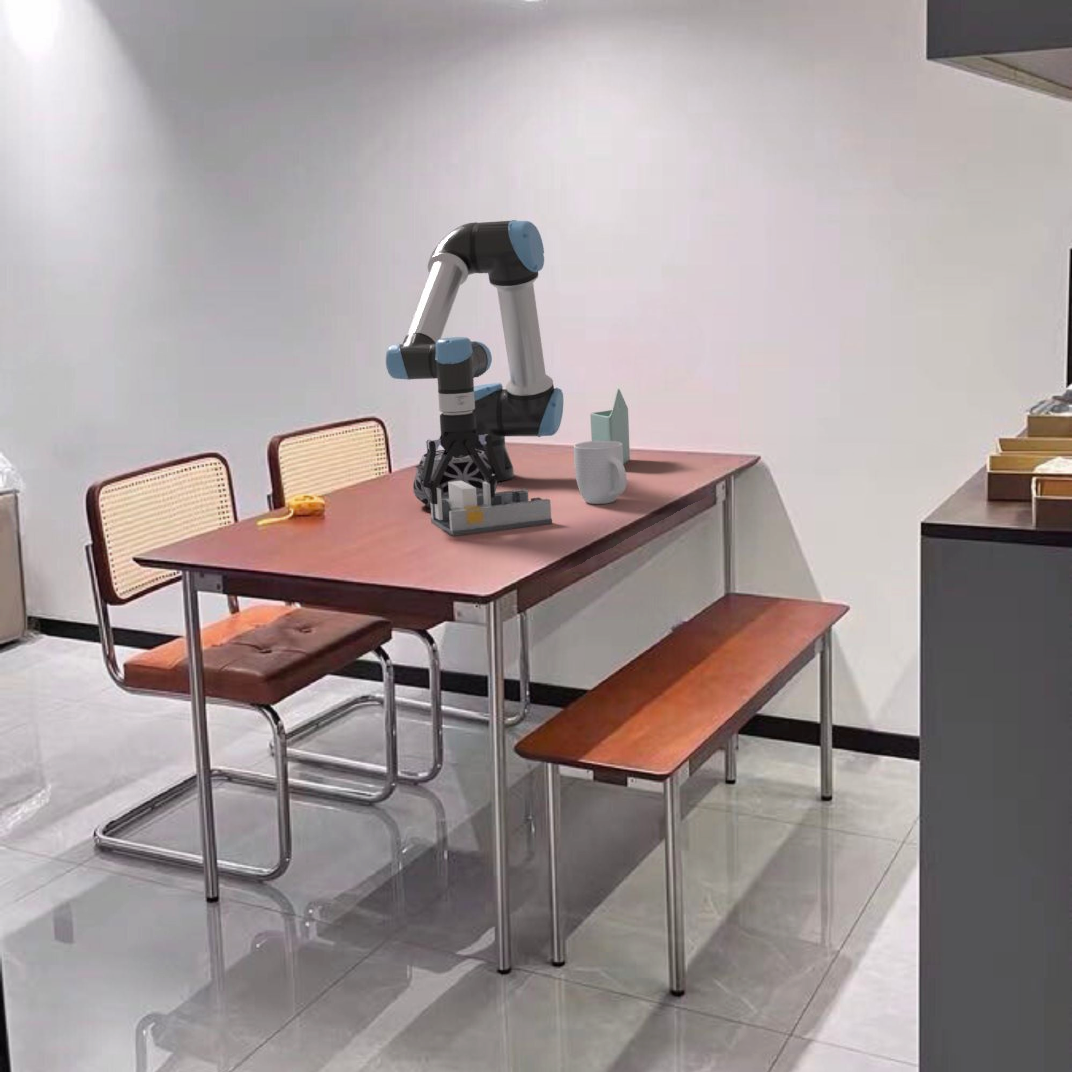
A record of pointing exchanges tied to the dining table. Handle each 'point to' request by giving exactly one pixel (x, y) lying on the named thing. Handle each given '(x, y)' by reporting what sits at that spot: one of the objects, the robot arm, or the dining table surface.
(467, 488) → the panel
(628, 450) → the planter
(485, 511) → the rack
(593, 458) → the mug
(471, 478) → the teapot
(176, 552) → the dining table surface
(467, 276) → the robot arm
